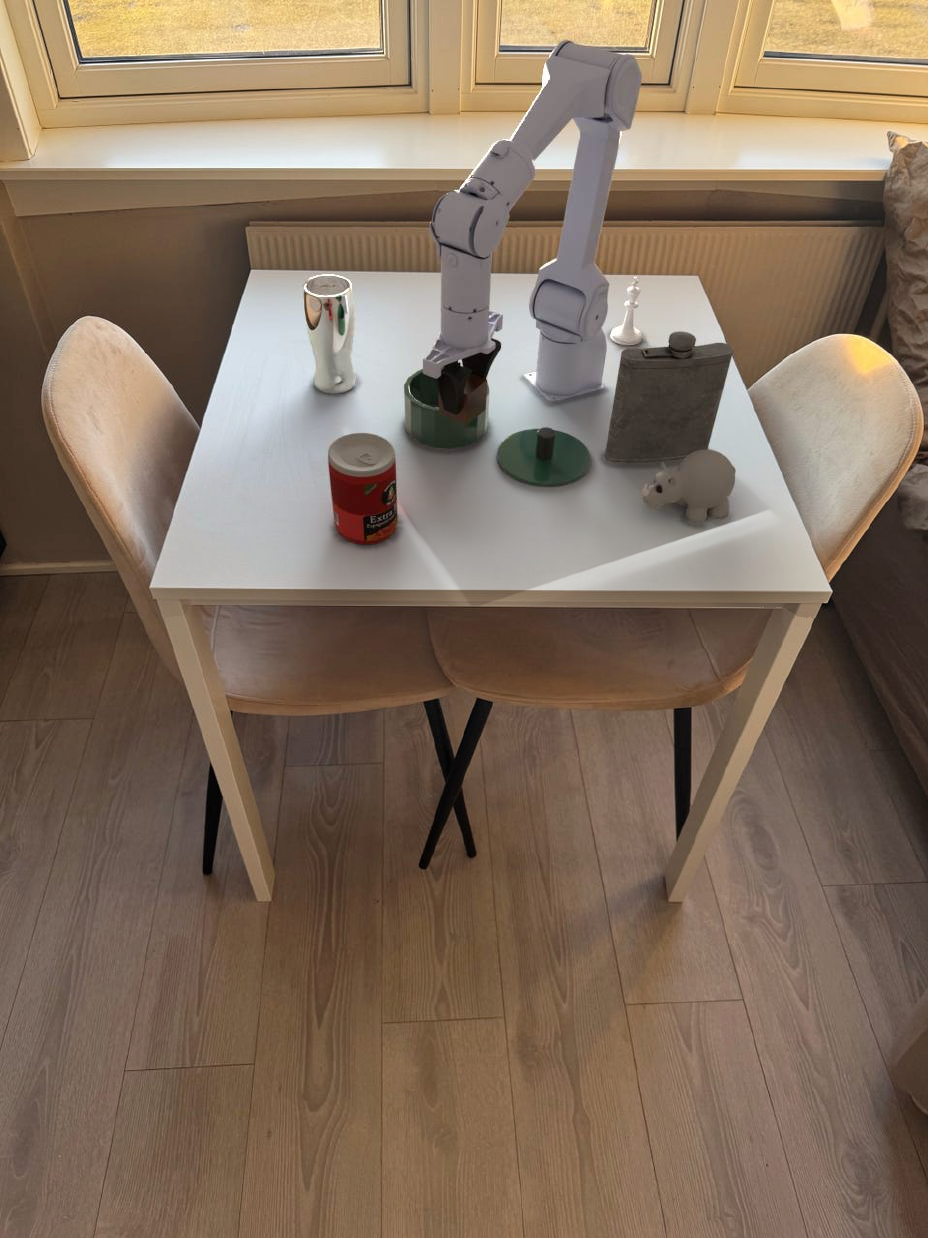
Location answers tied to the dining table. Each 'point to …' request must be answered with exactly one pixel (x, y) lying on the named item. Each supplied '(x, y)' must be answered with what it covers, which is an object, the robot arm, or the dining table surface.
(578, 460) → the lid
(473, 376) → the block
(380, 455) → the canned food
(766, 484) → the dining table surface
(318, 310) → the beer glass
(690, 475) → the toy rhinoceros
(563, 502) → the dining table surface
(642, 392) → the flask
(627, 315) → the chess piece
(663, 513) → the dining table surface
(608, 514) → the dining table surface
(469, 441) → the pot
